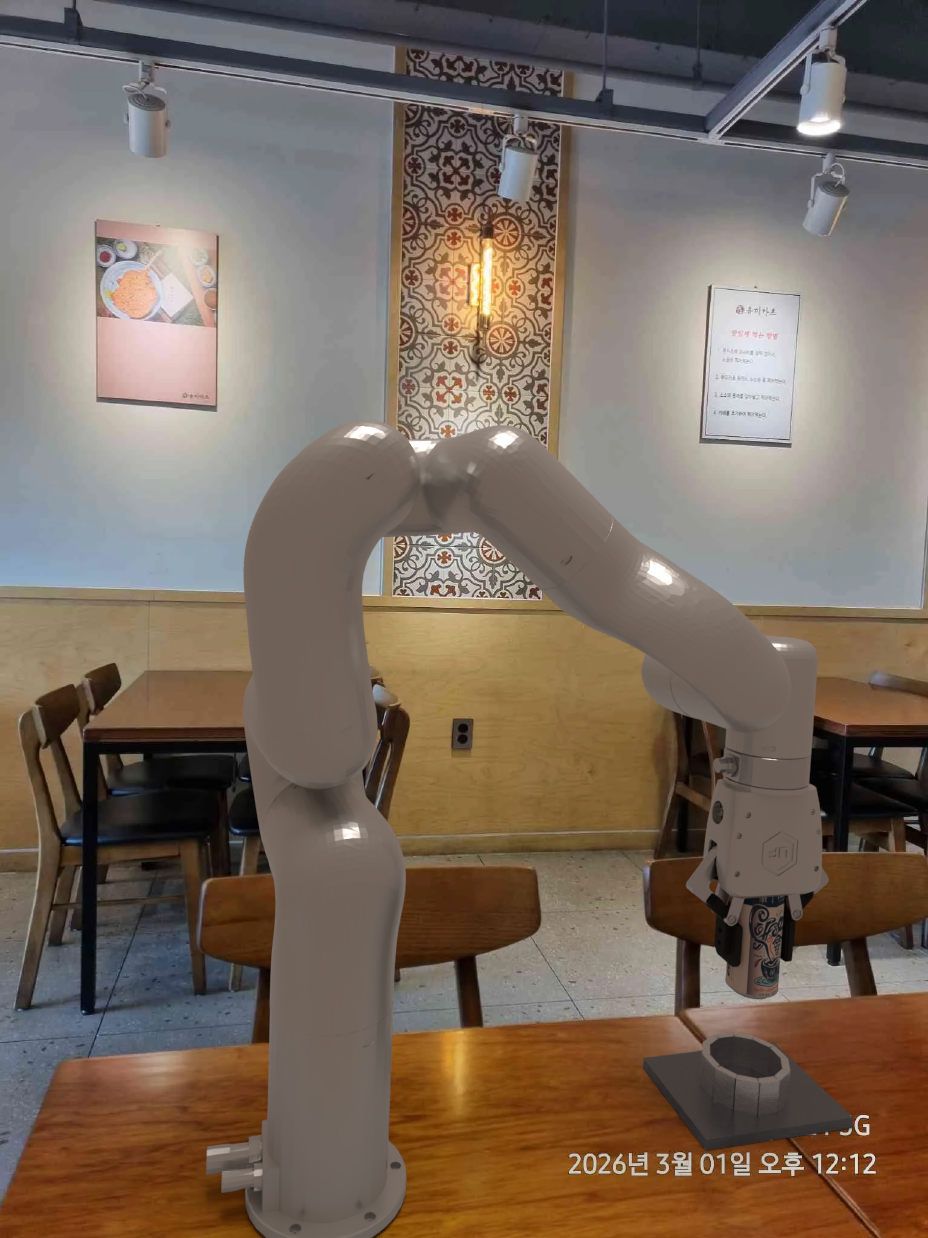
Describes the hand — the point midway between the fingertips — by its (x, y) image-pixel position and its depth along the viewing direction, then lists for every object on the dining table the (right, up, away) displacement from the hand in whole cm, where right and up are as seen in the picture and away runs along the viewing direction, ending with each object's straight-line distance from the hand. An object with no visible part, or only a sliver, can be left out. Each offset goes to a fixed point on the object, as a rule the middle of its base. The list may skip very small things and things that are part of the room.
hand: (753, 955), depth 79 cm
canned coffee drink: (0, -4, 0) cm, 4 cm away
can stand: (-1, -14, +1) cm, 14 cm away
